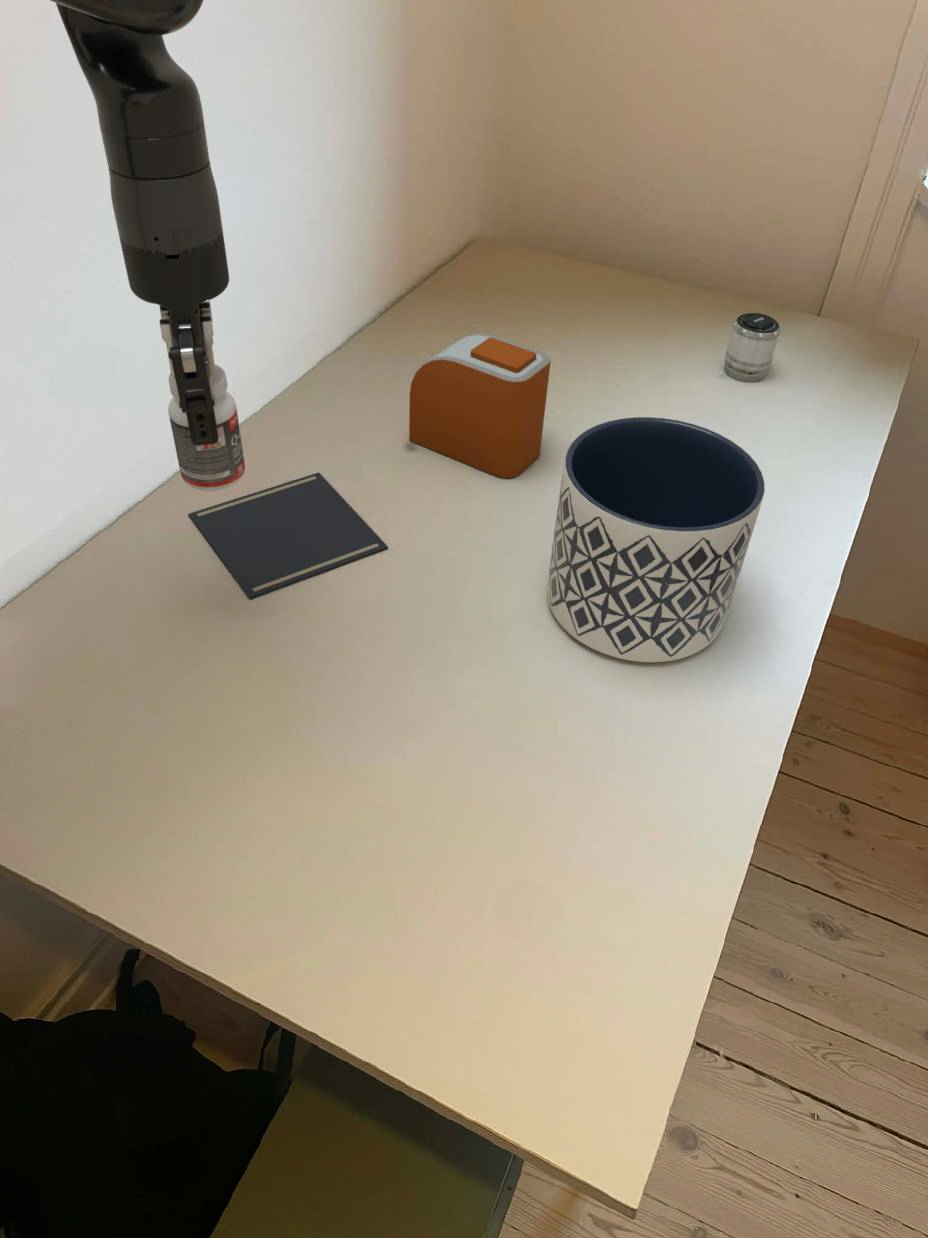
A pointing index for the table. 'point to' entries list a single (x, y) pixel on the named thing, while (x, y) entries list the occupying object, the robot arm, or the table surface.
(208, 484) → the pill bottle
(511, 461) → the alarm clock
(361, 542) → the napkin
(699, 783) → the table surface
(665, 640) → the planter
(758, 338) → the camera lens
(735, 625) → the table surface
